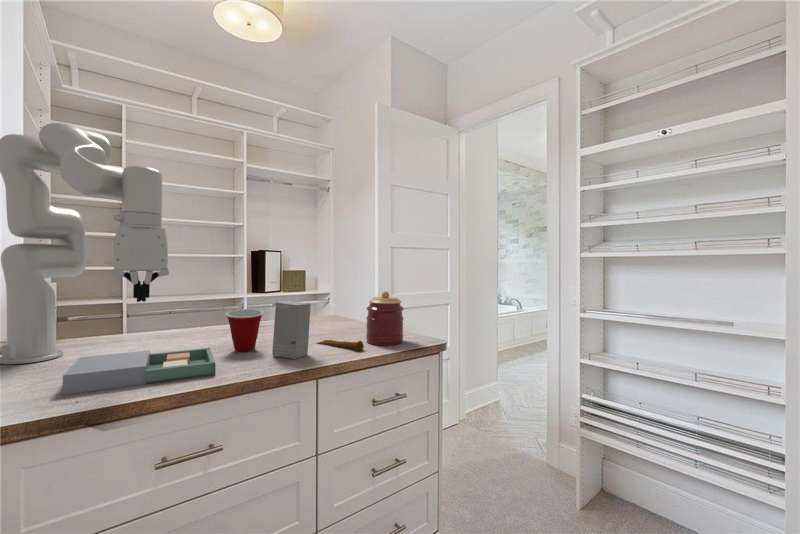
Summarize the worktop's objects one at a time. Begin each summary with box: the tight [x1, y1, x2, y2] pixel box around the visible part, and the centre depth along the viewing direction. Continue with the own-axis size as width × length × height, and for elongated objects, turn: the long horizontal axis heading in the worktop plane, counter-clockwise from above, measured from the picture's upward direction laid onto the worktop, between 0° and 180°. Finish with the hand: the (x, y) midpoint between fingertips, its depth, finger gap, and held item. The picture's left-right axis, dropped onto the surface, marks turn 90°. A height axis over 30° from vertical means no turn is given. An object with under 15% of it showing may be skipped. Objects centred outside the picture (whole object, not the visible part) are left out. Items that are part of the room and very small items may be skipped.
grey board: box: [62, 350, 151, 396], centre depth 86 cm, size 14×16×4 cm
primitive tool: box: [315, 339, 365, 353], centre depth 121 cm, size 19×6×4 cm, turn 54°
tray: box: [145, 347, 216, 385], centre depth 93 cm, size 14×17×3 cm
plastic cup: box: [225, 308, 264, 353], centre depth 114 cm, size 11×11×12 cm
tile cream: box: [163, 360, 188, 368], centre depth 89 cm, size 5×5×2 cm
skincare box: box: [272, 300, 312, 360], centre depth 109 cm, size 8×7×16 cm
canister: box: [365, 291, 405, 346], centre depth 128 cm, size 13×13×18 cm
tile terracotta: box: [166, 352, 190, 365], centre depth 96 cm, size 5×5×2 cm
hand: (141, 300), depth 86 cm, fingers closed
